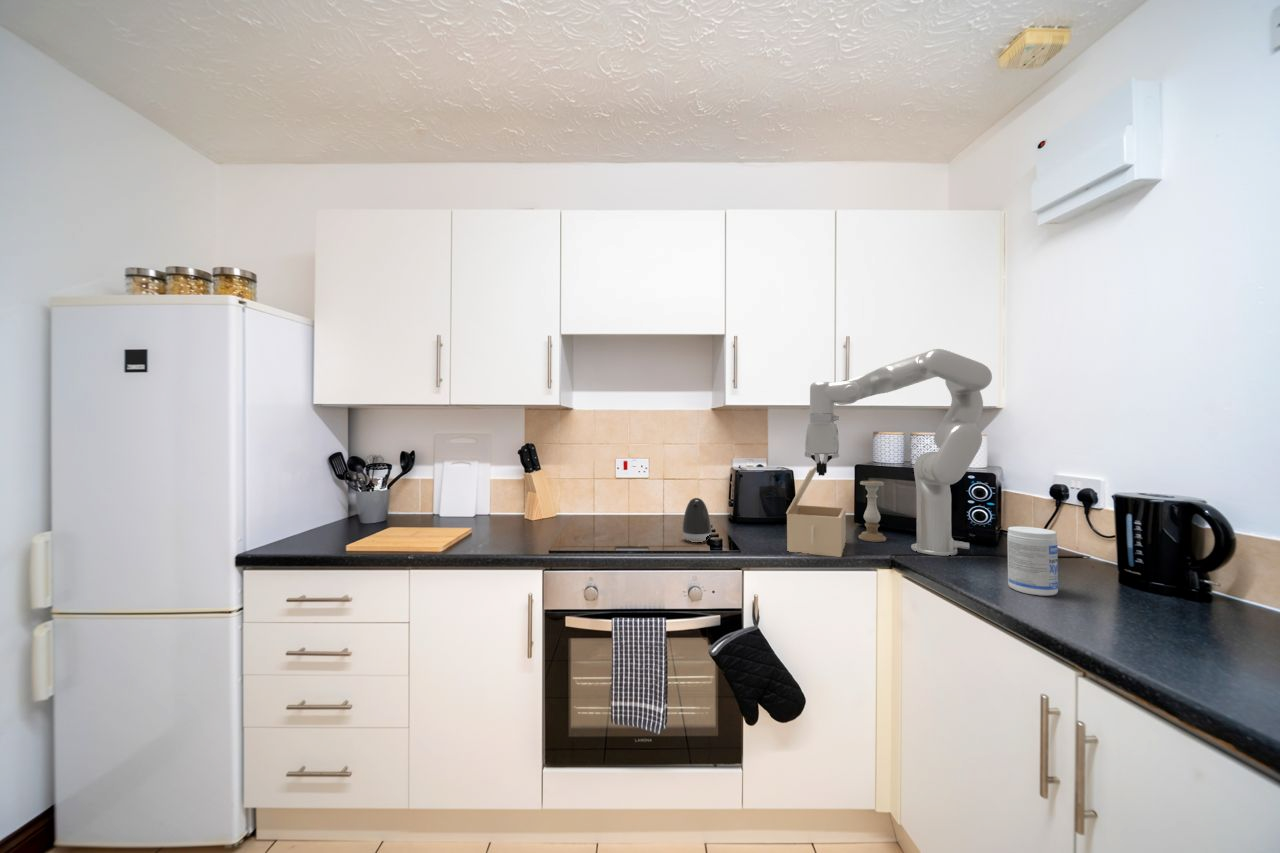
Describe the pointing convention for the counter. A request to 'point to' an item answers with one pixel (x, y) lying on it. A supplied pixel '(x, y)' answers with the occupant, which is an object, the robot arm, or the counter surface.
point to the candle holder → (872, 514)
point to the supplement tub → (1032, 560)
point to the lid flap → (802, 489)
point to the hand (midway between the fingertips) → (821, 475)
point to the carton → (816, 530)
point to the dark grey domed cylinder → (696, 521)
